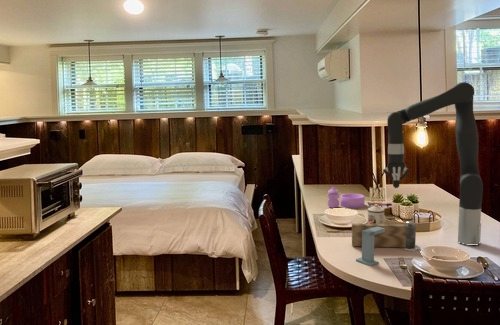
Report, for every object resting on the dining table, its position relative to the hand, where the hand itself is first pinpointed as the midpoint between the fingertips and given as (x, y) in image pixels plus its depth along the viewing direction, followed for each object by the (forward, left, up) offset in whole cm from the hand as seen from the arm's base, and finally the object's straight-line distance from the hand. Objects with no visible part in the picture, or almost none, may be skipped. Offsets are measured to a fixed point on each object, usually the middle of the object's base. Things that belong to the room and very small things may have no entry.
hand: (396, 187), depth 219 cm
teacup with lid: (+13, -14, -25) cm, 32 cm away
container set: (+46, -51, -25) cm, 73 cm away
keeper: (-1, +39, -25) cm, 46 cm away
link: (0, +19, -24) cm, 31 cm away
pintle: (-11, +14, -25) cm, 30 cm away
